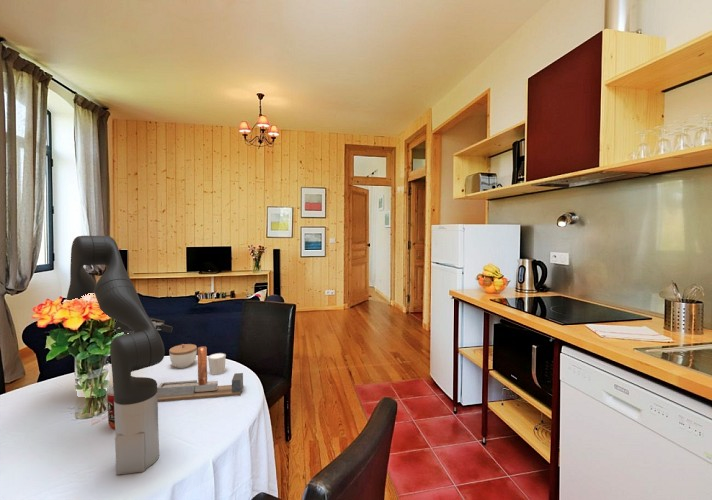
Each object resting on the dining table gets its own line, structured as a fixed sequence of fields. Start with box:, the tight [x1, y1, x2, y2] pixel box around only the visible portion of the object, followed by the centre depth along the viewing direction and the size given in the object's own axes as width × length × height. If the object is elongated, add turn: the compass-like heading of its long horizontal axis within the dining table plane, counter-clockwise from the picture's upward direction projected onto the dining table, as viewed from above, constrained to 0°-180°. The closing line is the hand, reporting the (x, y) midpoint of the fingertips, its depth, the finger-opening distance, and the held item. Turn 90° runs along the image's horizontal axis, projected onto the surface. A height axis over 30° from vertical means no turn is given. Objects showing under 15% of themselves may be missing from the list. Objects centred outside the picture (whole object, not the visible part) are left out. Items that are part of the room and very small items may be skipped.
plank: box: [158, 384, 244, 403], centre depth 122 cm, size 7×28×1 cm, turn 101°
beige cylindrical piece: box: [207, 352, 227, 376], centre depth 141 cm, size 7×7×7 cm
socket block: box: [231, 372, 244, 393], centre depth 124 cm, size 6×3×4 cm, turn 11°
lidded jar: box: [168, 343, 198, 369], centre depth 147 cm, size 11×11×9 cm
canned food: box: [106, 386, 115, 430], centre depth 104 cm, size 8×8×11 cm
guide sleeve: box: [157, 379, 198, 398], centre depth 120 cm, size 5×12×3 cm, turn 101°
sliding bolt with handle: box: [163, 346, 219, 392], centre depth 121 cm, size 3×18×16 cm, turn 101°
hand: (164, 334), depth 120 cm, fingers open, 8 cm apart
